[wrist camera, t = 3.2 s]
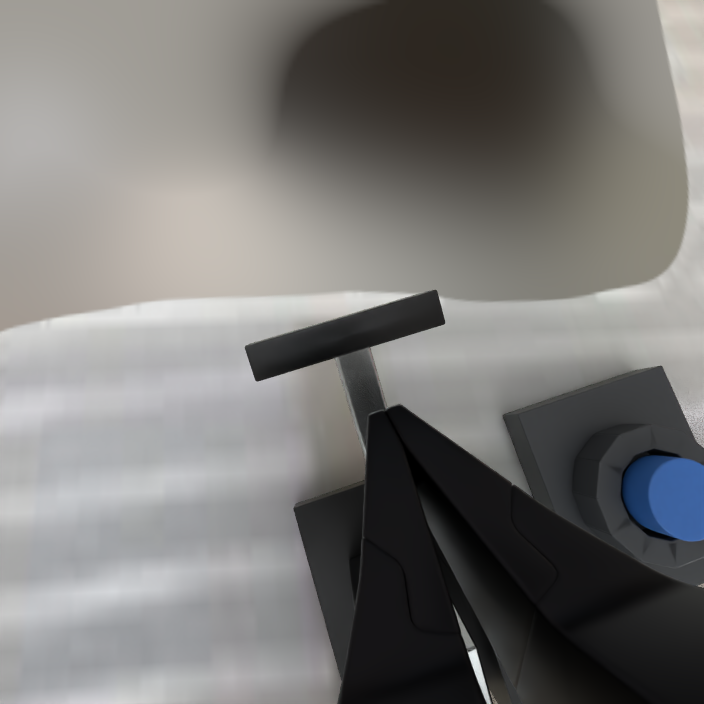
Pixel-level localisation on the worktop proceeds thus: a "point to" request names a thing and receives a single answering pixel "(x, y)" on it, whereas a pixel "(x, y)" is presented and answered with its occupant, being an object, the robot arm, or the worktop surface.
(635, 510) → the button
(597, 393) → the switch
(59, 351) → the worktop surface
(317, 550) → the tap bracket
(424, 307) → the tap lever
